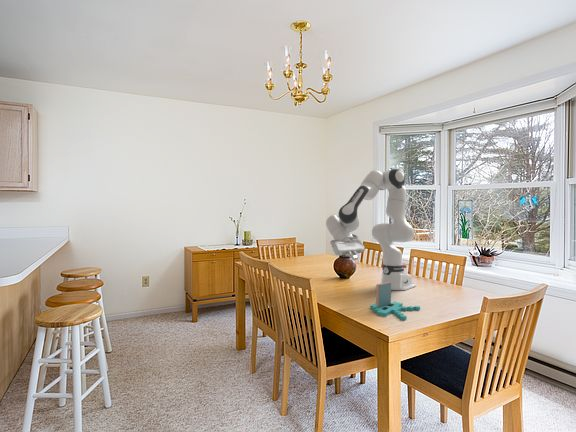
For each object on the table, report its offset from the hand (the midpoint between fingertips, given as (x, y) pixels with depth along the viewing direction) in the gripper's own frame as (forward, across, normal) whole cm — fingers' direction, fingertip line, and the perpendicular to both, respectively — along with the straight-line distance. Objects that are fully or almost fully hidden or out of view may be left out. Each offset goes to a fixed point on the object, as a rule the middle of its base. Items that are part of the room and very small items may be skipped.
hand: (355, 259), depth 193 cm
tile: (+28, 0, +1) cm, 28 cm away
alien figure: (+34, +1, -1) cm, 34 cm away
